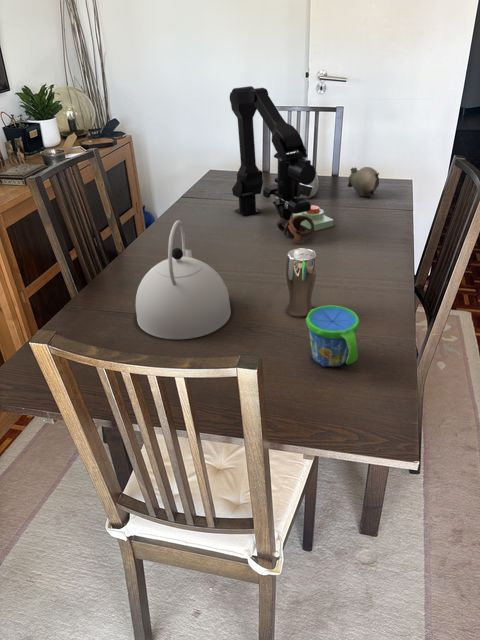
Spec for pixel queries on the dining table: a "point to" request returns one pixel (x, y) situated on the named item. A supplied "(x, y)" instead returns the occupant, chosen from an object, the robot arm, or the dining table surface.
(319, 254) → the dining table surface
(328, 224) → the box
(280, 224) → the pottery mug
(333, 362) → the snack cup
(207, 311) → the kettle
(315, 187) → the device
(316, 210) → the call button
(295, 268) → the beer glass
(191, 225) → the dining table surface
